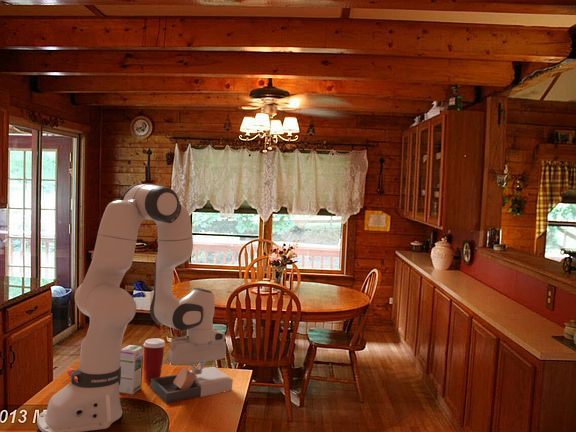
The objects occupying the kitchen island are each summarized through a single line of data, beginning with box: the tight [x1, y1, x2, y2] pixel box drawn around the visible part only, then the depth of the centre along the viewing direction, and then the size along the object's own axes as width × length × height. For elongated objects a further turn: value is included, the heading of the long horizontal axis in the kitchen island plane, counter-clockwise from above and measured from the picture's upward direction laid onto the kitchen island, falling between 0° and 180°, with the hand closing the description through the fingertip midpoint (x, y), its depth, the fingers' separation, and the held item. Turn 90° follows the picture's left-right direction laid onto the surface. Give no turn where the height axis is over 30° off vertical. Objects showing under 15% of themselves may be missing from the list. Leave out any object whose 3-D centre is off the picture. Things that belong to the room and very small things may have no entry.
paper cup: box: [142, 337, 166, 383], centre depth 168 cm, size 8×8×14 cm
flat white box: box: [189, 366, 234, 398], centre depth 166 cm, size 12×14×4 cm
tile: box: [173, 366, 197, 390], centre depth 160 cm, size 6×6×3 cm
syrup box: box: [119, 344, 144, 395], centre depth 157 cm, size 6×6×14 cm
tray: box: [150, 373, 201, 404], centre depth 158 cm, size 12×14×3 cm
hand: (196, 374), depth 163 cm, fingers closed
